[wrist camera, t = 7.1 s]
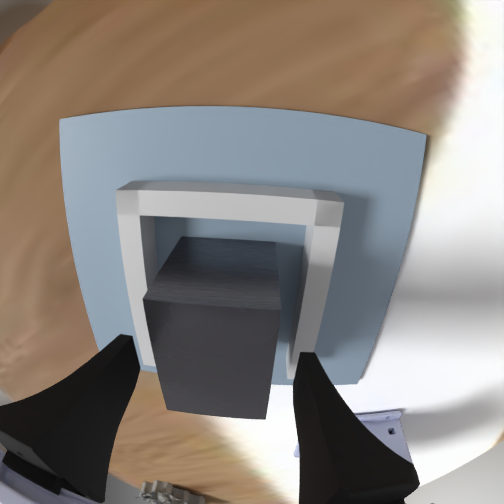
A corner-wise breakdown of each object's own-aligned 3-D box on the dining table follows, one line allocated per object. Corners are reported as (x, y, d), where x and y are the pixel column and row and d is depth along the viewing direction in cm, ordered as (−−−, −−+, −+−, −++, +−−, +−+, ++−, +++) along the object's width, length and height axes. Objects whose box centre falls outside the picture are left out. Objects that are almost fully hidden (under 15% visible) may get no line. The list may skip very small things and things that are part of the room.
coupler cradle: (422, 134, 13) (446, 138, 11) (355, 379, 21) (362, 403, 19) (64, 118, 13) (37, 122, 11) (105, 358, 21) (94, 379, 19)
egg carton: (212, 498, 36) (210, 518, 33) (183, 500, 39) (180, 518, 35) (164, 478, 33) (159, 500, 29) (136, 479, 35) (131, 499, 31)
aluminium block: (275, 241, 16) (281, 309, 10) (266, 342, 19) (265, 419, 13) (181, 236, 16) (142, 298, 10) (188, 336, 19) (167, 409, 13)
